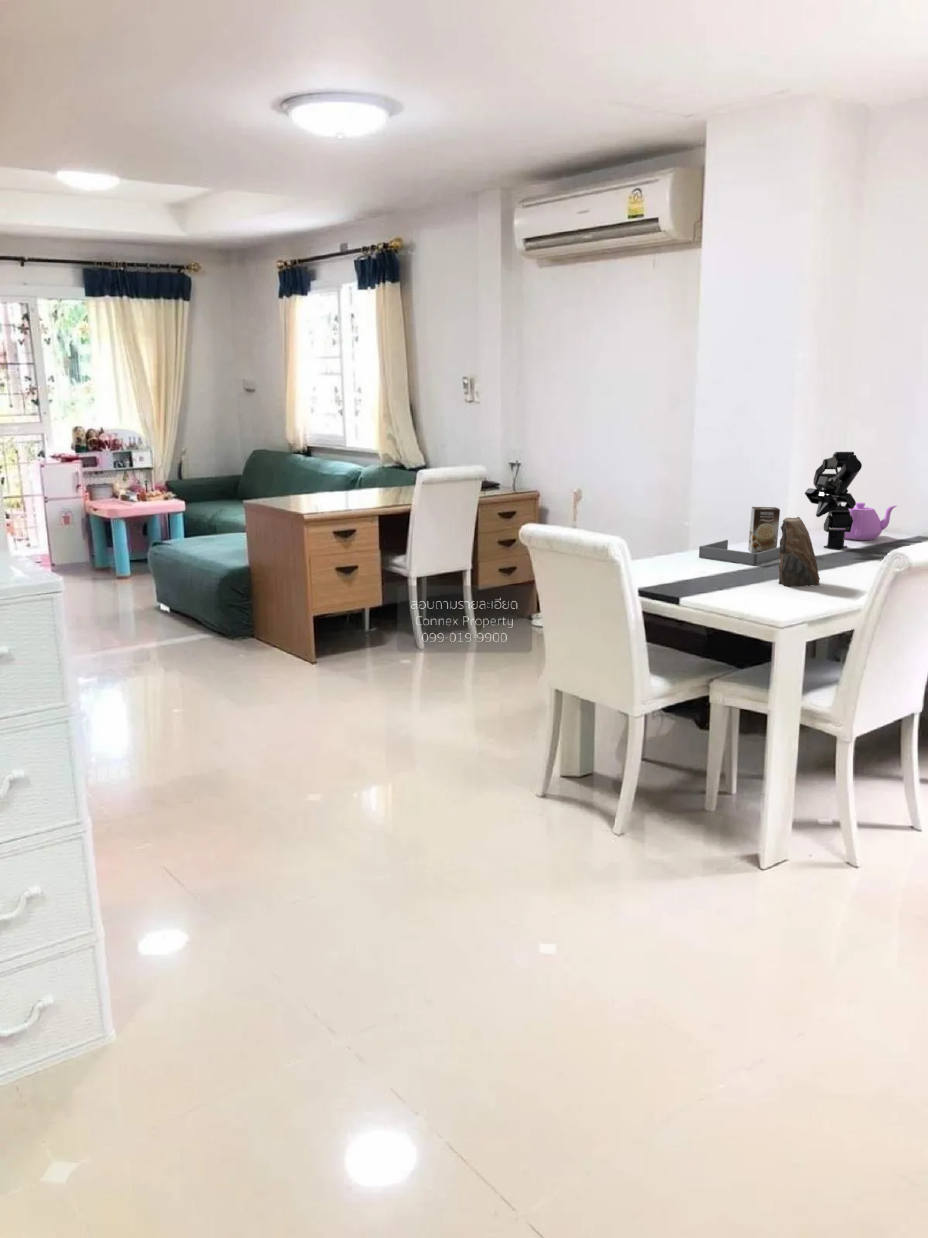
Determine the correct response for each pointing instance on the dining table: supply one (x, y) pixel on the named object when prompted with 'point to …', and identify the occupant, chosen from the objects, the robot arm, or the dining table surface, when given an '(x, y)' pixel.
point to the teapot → (867, 522)
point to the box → (736, 554)
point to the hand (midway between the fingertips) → (817, 516)
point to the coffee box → (763, 529)
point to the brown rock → (796, 555)
